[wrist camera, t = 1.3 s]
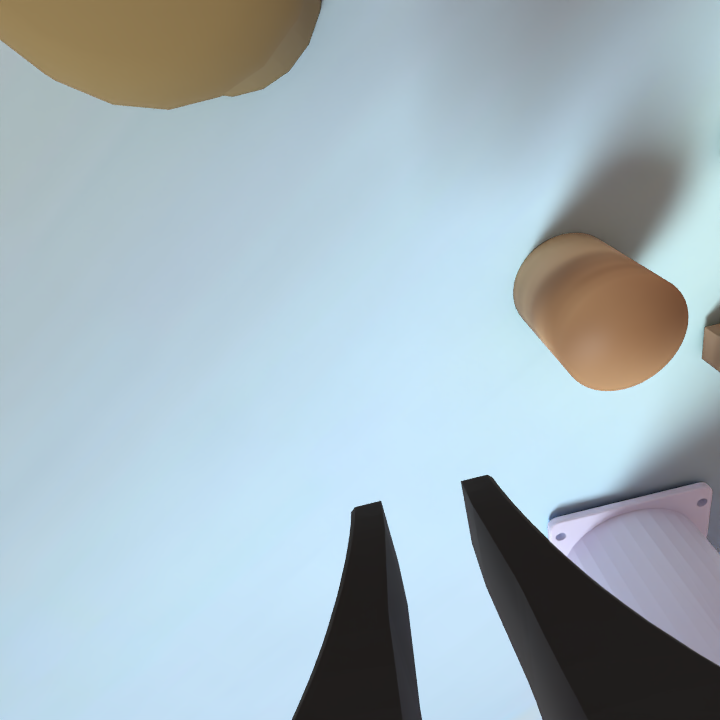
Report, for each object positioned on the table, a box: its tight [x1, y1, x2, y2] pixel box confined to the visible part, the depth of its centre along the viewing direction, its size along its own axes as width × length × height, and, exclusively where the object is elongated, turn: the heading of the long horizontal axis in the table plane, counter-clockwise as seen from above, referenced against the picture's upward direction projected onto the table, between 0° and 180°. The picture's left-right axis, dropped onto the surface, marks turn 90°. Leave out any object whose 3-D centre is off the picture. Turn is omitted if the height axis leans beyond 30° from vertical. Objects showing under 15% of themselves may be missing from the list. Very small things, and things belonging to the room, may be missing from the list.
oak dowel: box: [513, 233, 688, 391], centre depth 19 cm, size 4×4×4 cm
